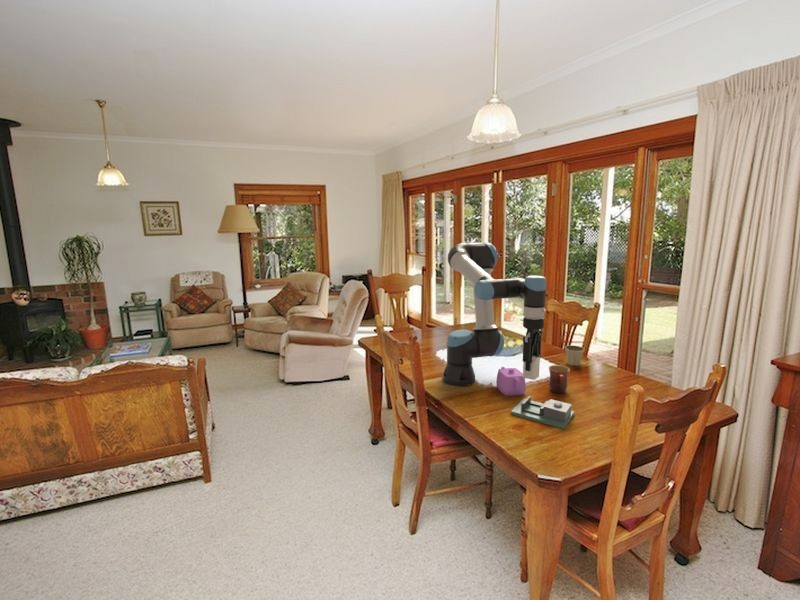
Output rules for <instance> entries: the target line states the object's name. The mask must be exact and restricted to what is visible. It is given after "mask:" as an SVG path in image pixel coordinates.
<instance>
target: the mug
mask: <svg viewBox="0 0 800 600" xmlns="http://www.w3.org/2000/svg"><path fill="white" fill-rule="evenodd" d="M548 370H549V380H548V381H549V382H548V387H549V391H551V392H552V393H555V394H564V393H566V392H567V389H568V377H569V374H570V372H571V369H570V368H569V367H568V366H564V365H560V364H559V365H558V364H555V365H554V364H553V365H550V366H548Z"/></svg>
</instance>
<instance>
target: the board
mask: <svg viewBox="0 0 800 600" xmlns="http://www.w3.org/2000/svg"><path fill="white" fill-rule="evenodd" d="M572 406H573V405H572V403H568V402H563V401H559V400H555V399H551V398H550V399H549V400H546V401H545V402H544V403H542V402H539V401H535V400H532V396H531V395H528V396H527V397H526V398H523V399H522V400H521V401H519V403H518V404H517V405H515V407H513V408H512V410H511V411H510V415H513V416H516V417H520V418H523V419H527V420H530V421H535V422H538V423H541V424H545V425H548V426H552V427H555V428H558V429H561V428H562V429H561V430H565V428H566V427H567V426H568V424H569V422H570V421H571V420H572V418H573V417H574V416H575V411H574V410H572Z"/></svg>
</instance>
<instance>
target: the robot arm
mask: <svg viewBox="0 0 800 600" xmlns="http://www.w3.org/2000/svg"><path fill="white" fill-rule="evenodd" d="M498 256H499V255H498V252H497V248H496V247H495V245H493V243H491V242H485V241H482V242H479V241H478V242H460V243H457V244H455V245H454V246H453V247H451V249H449V252H448V254H447V263H448V265H449V267H450V268H451V269H452V270H453V271H454V272H459V274H461V275H462V276H463V277H464V278H465V279H466V280H467V281H468V282H469V283H470V284H471V285H472V288H473V301H474V315H475V316H474V317H475V326H474V327H473V328H472V329H473V330H470V329H456V330H453V331H451V332H450V333H449V334H448V335H447V341H446V366H445V367H444V371H443V374H442V381H443V382H444V383H446V384H449V385H451V386H456V387H457V386H459V387H466V386H470V385H472V384H474V383H475V382H476V374H475V371H474V367H473V359H474V358H475V359H476V358H485V357H494V356H498V355H500V354H501V353H502V351H503V350H504V347H505V338H504V334H503V332H502V331H501V330H499V327H498V325H496V323H495V314H494V300H499V299H500V300H501V299H502V300H503V299H516V298H519V299H523V315H522V316H523V318H522V326H523V327H524V329H527V330H526V332H525V336H523V337H522V341H523V345H522V347H523V348H522V362H525V377H524V378H525V379H527V378H528V379H529V380H532V370H533V362H532V357H533V355H538V356H540V359H541V357H542V356H541V351H542V336H543V330H542V329H544V327H545V318H544V317H545V313H546V312H547V310H546V296H547V295H546V294H547V280H546V279H547V278H546V277H545V276H543V275H527V276H526V277H525V278H523V277H520V276H518V277H517V276H513V277H510V278H500V279H495V278H493V277H492V276H491V275H492V273H493V271H494V267H495V266H496V265H497V264H498Z"/></svg>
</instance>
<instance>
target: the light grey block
mask: <svg viewBox="0 0 800 600" xmlns="http://www.w3.org/2000/svg"><path fill="white" fill-rule="evenodd" d="M540 356H541V355H539V356H538V355H533V357H532V362H533V370H532V379H531V380H532V381H536V380H537V379H538V378H539V377H540V363H541V362H540V361H541V358H540ZM522 362H523V361H522ZM522 367H523V369H522V373H523V378H524V377H525V362H523V365H522ZM526 379H528V378H526Z"/></svg>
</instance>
